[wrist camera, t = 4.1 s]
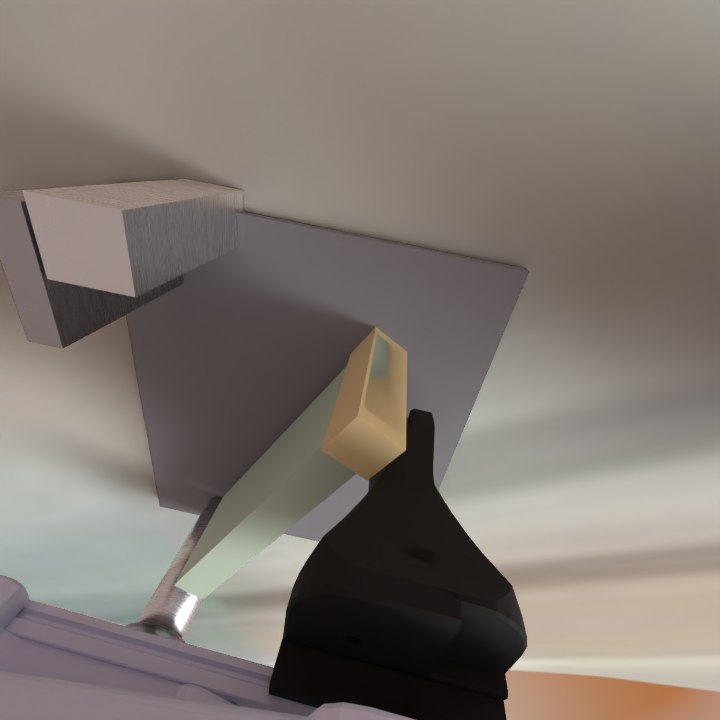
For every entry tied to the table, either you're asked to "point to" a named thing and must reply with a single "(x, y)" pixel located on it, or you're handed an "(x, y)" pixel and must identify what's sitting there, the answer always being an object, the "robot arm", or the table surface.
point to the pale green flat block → (308, 462)
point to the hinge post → (176, 590)
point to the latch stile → (107, 249)
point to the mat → (305, 349)
